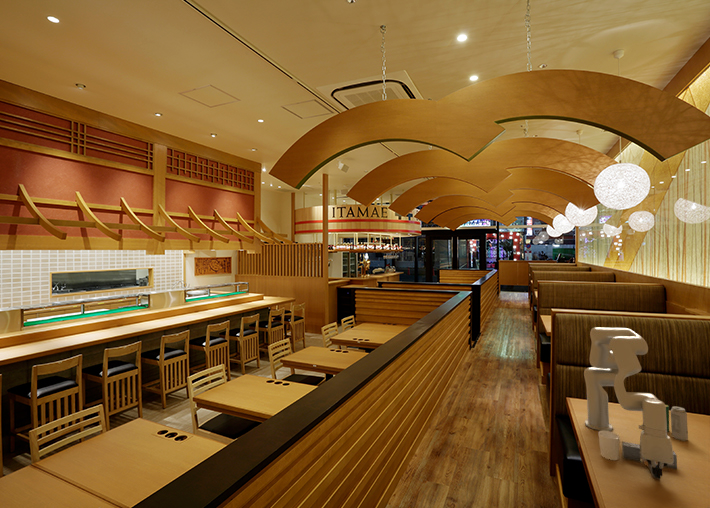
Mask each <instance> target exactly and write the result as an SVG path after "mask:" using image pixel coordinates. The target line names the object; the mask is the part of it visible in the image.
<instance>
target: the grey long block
mask: <svg viewBox="0 0 710 508" xmlns="http://www.w3.org/2000/svg"><path fill="white" fill-rule="evenodd" d="M621 447H622V448H621V451H622V453H621V454H622V458H623V457H624V458H625V459H624V458H623V459H624V460H627V459H630V460H629V461H632V460H634V461H633V462H638V461H639V463H641V460H642V459H641V458H640V453H641V452H640V443H639V444H638V443H633V442H626V441H621ZM673 457H674V462H673V463H674V465H667V466H665V467H664V468H668V469H673V470H678V459H677V458H678V457H677V454H676V452H675V450H673Z"/></svg>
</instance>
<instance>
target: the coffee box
mask: <svg viewBox="0 0 710 508" xmlns="http://www.w3.org/2000/svg"><path fill="white" fill-rule="evenodd" d="M665 406H666V421H667V432H670V406H669V405H668V404H665Z"/></svg>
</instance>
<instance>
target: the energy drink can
mask: <svg viewBox="0 0 710 508" xmlns="http://www.w3.org/2000/svg"><path fill="white" fill-rule="evenodd" d="M670 420H671V421H670V422H671V424H670V425H671V436H672V437H673V438H674V439H675V440H677V441H680V440H681V442H687V440H688V439H689V432H688V414H687V411H686V409H685V408H684V407H681V406H675V405H674V406H672V407H671V409H670Z"/></svg>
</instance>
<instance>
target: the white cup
mask: <svg viewBox="0 0 710 508" xmlns="http://www.w3.org/2000/svg"><path fill="white" fill-rule="evenodd" d="M598 444H599V449H600V456H601V455H602V456H603V457H602V456H601V457H602V458H604V457H605V459H606V460H609V459H610V460H609V461H618V460H619V459H620V456H619V455H620V454H619V453H620V436H619V434H617V433H616V432H613V431H598ZM617 459H618V460H617Z"/></svg>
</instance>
